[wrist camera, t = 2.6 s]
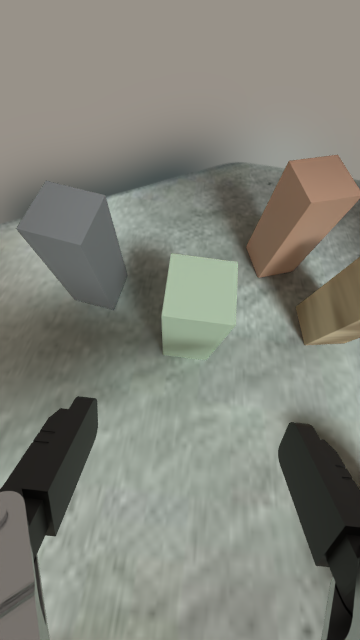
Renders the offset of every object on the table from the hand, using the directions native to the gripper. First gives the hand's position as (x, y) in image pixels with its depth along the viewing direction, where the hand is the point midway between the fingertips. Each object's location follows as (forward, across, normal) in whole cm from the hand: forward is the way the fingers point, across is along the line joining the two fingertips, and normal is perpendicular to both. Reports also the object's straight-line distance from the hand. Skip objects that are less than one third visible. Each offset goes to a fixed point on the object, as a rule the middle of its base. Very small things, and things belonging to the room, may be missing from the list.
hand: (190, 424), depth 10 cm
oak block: (+15, -13, +1) cm, 20 cm away
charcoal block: (+16, +9, 0) cm, 18 cm away
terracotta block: (+20, -8, -4) cm, 22 cm away
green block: (+13, 0, +3) cm, 13 cm away
